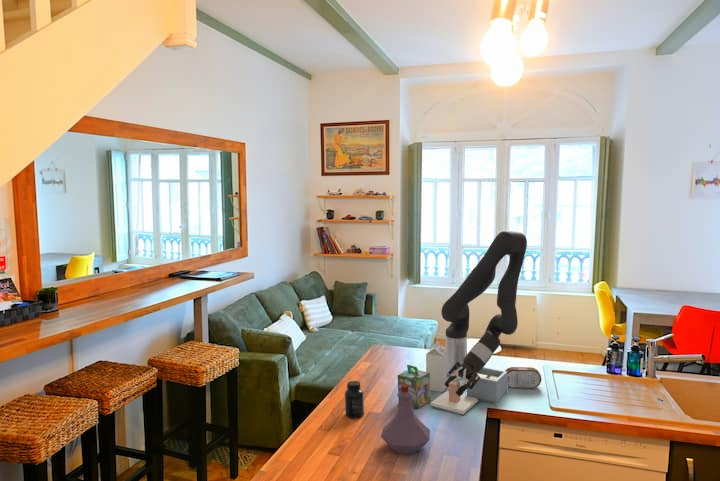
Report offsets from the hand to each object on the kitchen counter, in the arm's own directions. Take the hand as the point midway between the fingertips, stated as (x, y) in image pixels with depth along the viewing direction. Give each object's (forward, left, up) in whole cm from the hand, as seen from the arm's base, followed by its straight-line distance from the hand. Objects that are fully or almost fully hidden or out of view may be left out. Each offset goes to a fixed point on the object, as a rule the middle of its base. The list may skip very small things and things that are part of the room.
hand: (451, 390), depth 182 cm
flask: (+1, -35, -6) cm, 36 cm away
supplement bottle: (-26, -26, -6) cm, 38 cm away
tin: (+17, +31, -6) cm, 36 cm away
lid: (+1, +1, -5) cm, 5 cm away
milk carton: (-12, +12, -6) cm, 18 cm away
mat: (+1, +1, -6) cm, 6 cm away
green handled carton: (-13, -5, -6) cm, 16 cm away
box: (+8, +16, -6) cm, 19 cm away
